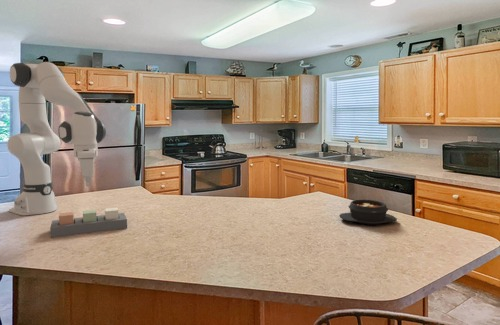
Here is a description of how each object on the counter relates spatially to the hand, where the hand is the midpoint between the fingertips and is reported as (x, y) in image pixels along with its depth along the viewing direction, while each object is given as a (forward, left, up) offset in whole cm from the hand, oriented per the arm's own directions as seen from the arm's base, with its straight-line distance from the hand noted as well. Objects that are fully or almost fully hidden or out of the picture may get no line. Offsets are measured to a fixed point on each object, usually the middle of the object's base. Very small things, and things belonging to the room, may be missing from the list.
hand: (88, 185), depth 142 cm
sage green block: (0, 0, -16) cm, 16 cm away
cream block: (+5, +6, -16) cm, 18 cm away
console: (0, 0, -19) cm, 18 cm away
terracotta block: (-6, -6, -16) cm, 18 cm away
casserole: (+106, +57, -19) cm, 122 cm away
